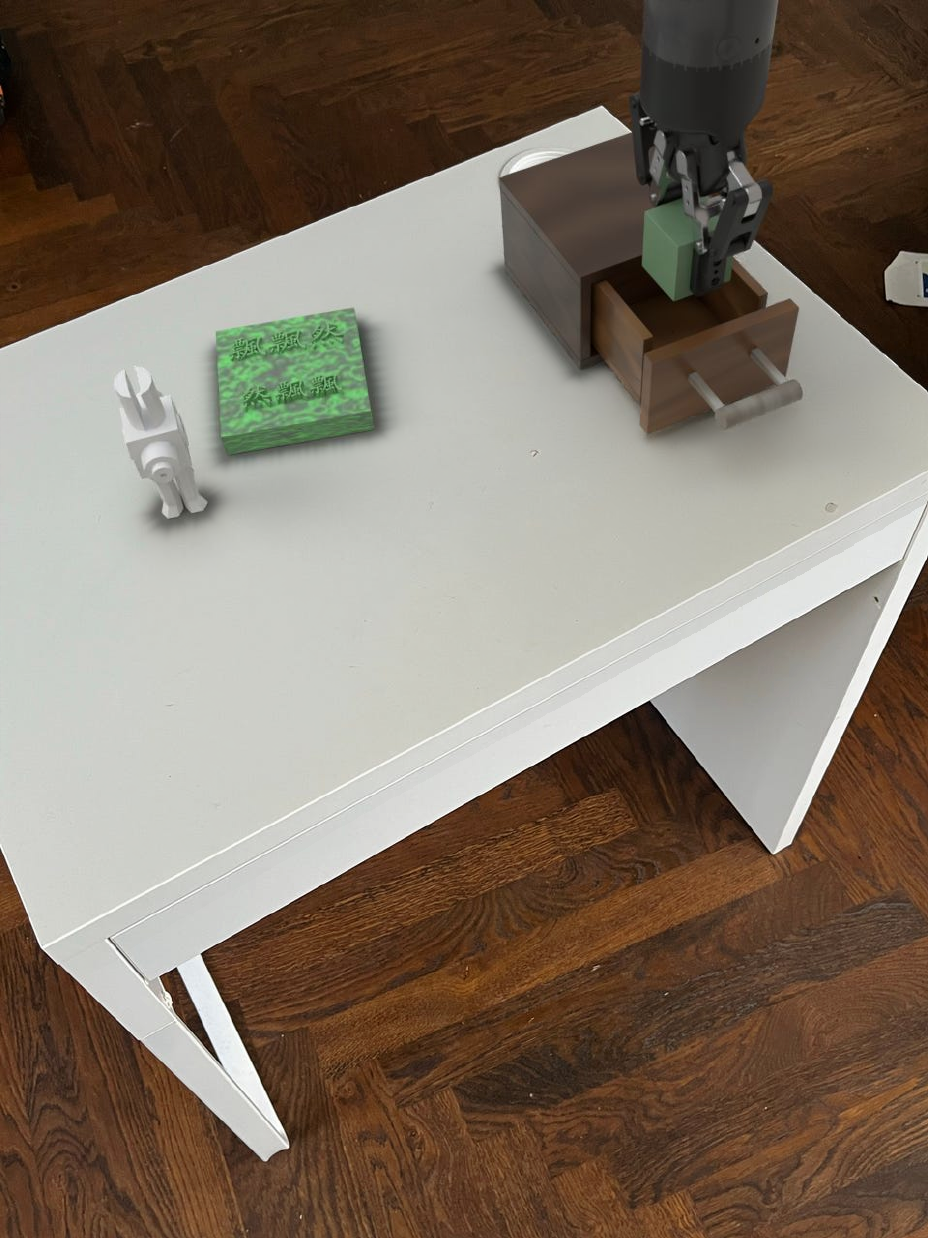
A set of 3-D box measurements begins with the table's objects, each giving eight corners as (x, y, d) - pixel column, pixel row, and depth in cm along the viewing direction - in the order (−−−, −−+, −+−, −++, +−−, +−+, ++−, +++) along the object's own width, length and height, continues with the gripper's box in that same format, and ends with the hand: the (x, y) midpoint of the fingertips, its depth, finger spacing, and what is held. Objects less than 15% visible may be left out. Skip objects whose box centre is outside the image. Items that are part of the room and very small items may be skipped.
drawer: (827, 427, 82) (845, 353, 77) (685, 484, 80) (692, 413, 75) (697, 284, 92) (705, 210, 86) (567, 332, 90) (567, 260, 84)
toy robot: (200, 456, 87) (152, 333, 77) (217, 530, 83) (168, 409, 73) (149, 470, 87) (94, 348, 77) (163, 545, 82) (107, 425, 72)
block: (696, 245, 82) (702, 190, 79) (730, 280, 80) (737, 225, 76) (641, 265, 81) (644, 210, 78) (673, 301, 79) (677, 247, 75)
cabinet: (724, 315, 91) (736, 220, 84) (580, 369, 89) (580, 277, 82) (639, 221, 99) (643, 127, 92) (504, 269, 97) (498, 177, 89)
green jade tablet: (227, 454, 87) (219, 431, 85) (221, 349, 94) (214, 326, 92) (374, 429, 87) (369, 405, 85) (357, 325, 94) (352, 302, 92)
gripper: (835, 64, 63) (789, 311, 77) (700, -42, 71) (681, 199, 85) (716, 104, 62) (691, 348, 76) (592, -8, 70) (590, 231, 84)
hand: (686, 268), depth 80 cm, fingers closed on block, 4 cm apart
